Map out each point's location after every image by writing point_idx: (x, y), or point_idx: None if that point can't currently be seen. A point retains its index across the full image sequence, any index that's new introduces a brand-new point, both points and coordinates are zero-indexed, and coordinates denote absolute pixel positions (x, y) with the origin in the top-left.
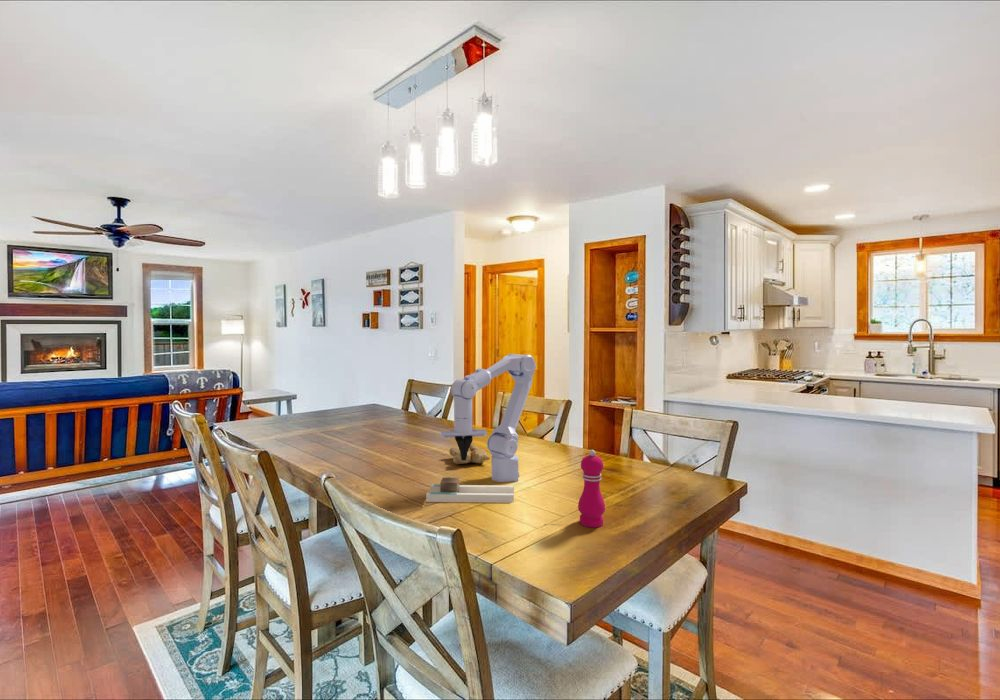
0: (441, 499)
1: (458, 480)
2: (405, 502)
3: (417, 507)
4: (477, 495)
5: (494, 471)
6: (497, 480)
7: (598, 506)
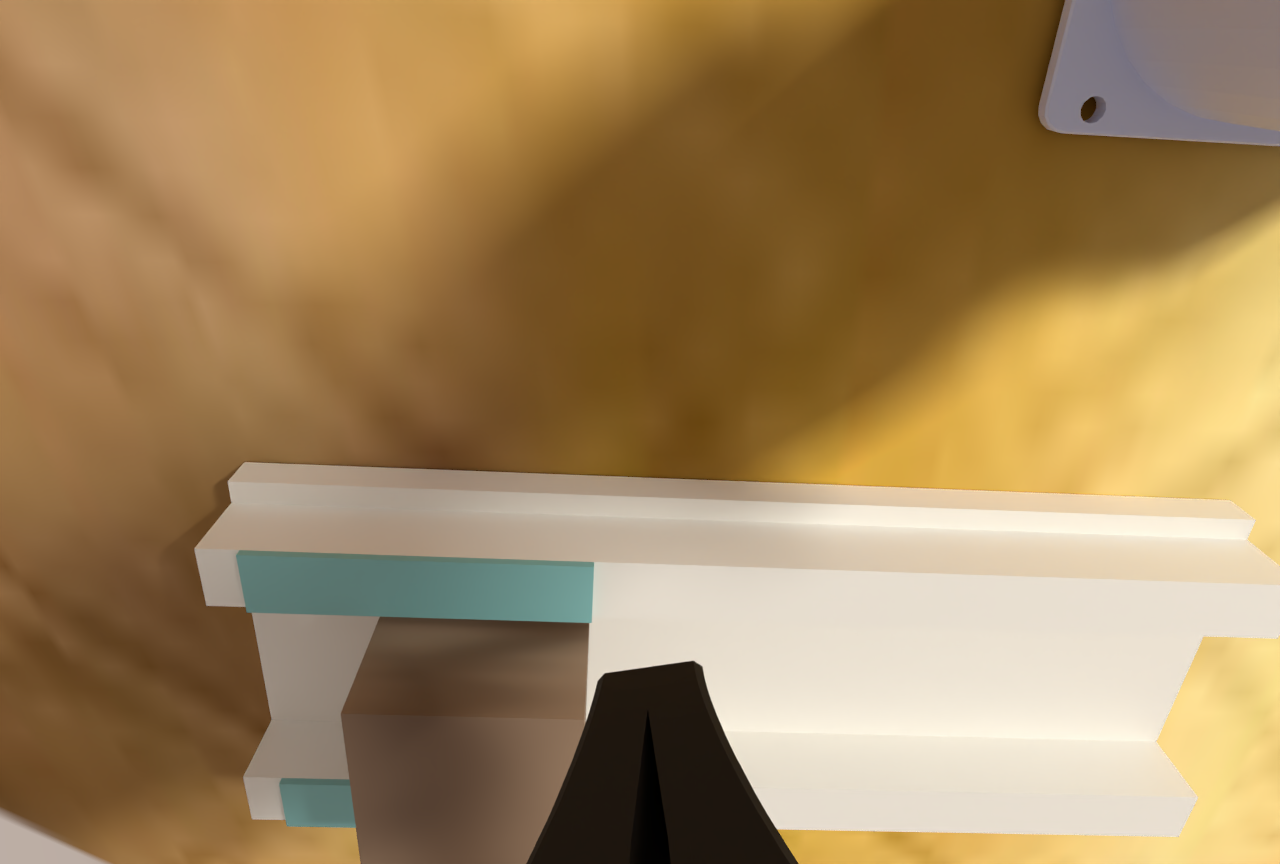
0: None
1: (584, 719)
2: (59, 693)
3: (233, 791)
4: (806, 825)
5: (1249, 73)
6: (1188, 108)
7: None
